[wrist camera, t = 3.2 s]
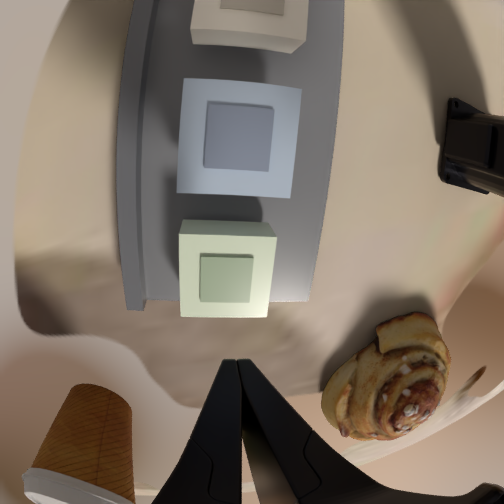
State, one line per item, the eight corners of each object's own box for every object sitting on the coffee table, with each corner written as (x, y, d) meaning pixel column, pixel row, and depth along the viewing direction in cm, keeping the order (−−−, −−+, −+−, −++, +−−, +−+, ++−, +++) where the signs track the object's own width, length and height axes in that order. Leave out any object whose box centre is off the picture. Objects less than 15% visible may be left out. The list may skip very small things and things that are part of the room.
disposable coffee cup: (100, 436, 24) (86, 529, 13) (37, 381, 20) (-1, 482, 9) (169, 422, 24) (167, 536, 13) (102, 358, 20) (66, 494, 9)
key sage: (268, 222, 16) (277, 238, 13) (259, 295, 17) (267, 318, 15) (182, 219, 15) (178, 235, 13) (183, 294, 16) (180, 318, 14)
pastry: (440, 291, 22) (496, 342, 15) (426, 386, 29) (457, 431, 21) (305, 351, 22) (339, 432, 15) (327, 432, 29) (348, 488, 21)
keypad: (336, 4, 12) (353, -9, 10) (302, 291, 20) (314, 311, 17) (150, -15, 11) (142, -32, 8) (134, 289, 18) (127, 309, 16)
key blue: (287, 95, 12) (303, 88, 10) (277, 187, 14) (291, 199, 11) (188, 86, 11) (183, 77, 9) (181, 183, 13) (176, 193, 11)
